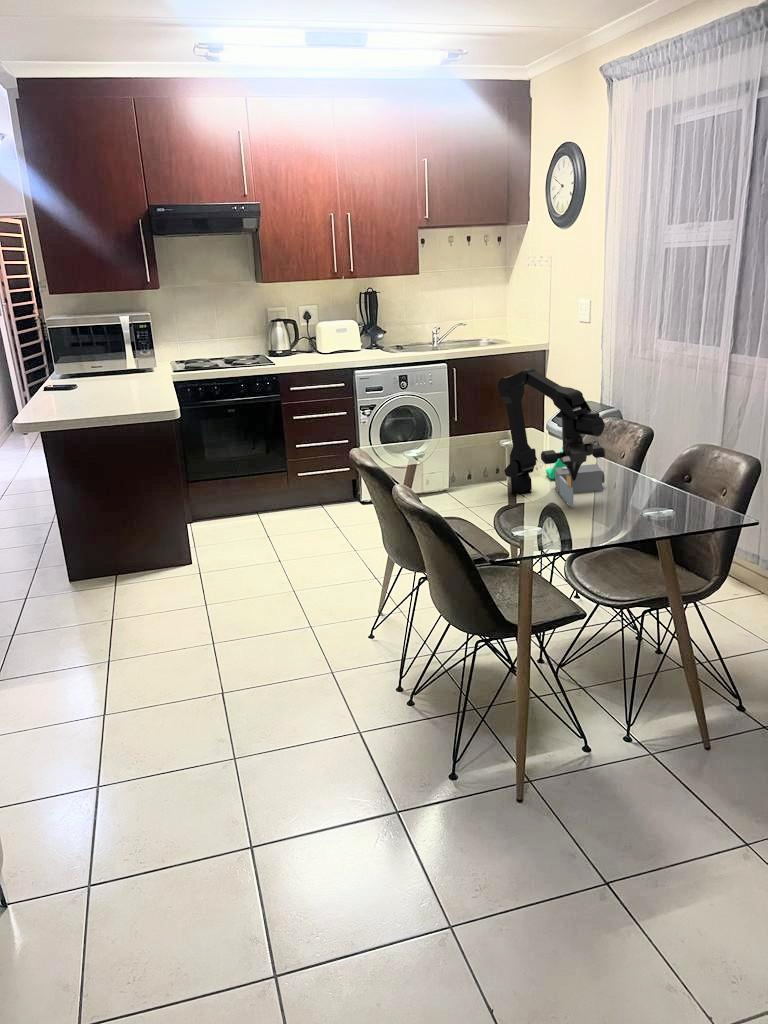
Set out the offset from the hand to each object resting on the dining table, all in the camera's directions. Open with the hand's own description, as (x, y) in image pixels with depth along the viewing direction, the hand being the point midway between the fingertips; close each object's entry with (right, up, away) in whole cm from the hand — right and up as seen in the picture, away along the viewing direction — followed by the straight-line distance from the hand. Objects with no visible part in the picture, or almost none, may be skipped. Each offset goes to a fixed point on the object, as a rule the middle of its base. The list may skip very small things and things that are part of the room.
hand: (573, 480), depth 235 cm
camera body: (+6, -2, +16) cm, 17 cm away
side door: (-1, -6, +6) cm, 9 cm away
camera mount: (+5, +2, +31) cm, 32 cm away
